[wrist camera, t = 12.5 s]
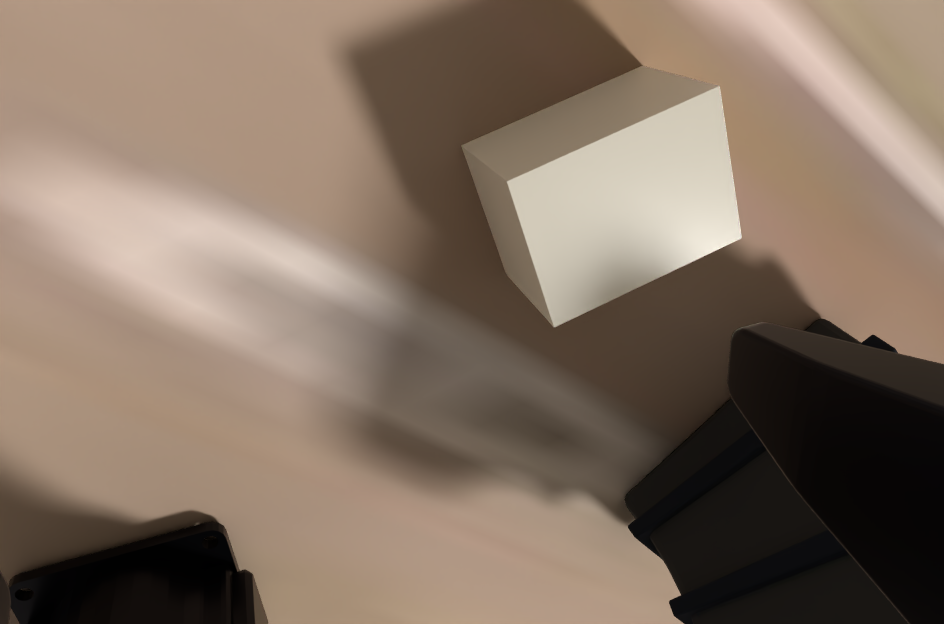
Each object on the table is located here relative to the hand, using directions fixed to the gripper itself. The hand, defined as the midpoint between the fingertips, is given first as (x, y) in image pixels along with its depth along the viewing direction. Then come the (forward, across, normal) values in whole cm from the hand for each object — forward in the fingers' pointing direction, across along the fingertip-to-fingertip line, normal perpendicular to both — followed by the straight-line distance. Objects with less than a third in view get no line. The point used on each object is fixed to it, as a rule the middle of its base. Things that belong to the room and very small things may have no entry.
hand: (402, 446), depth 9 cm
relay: (+13, -8, +2) cm, 16 cm away
